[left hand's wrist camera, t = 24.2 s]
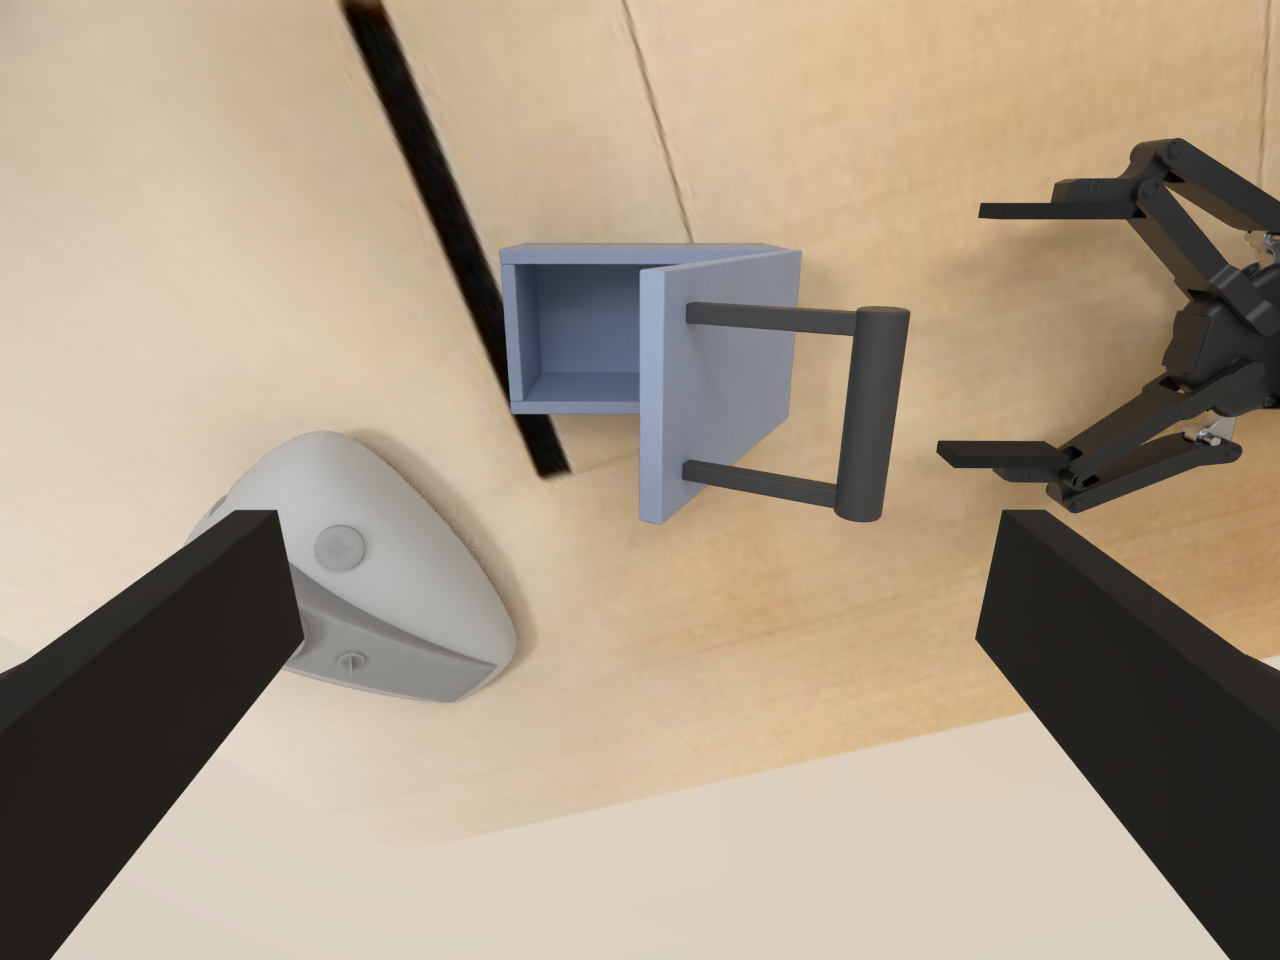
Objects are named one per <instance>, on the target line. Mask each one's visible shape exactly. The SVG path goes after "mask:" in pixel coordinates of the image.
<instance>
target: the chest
mask: <svg viewBox="0 0 1280 960" xmlns="http://www.w3.org/2000/svg"><path fill="white" fill-rule="evenodd" d="M781 250H790V249H786V248H781V247H777V246H772V245H768V244H659V243H526V244H521V245H517V246H513V247H508V248H504V249H500V263H501V264H502V265H501V275H502V289H503V304H504V318H505V332H506V346H507V360H508V374H509V388H510V400H511V413H512V414H640V270H643V269H650V268H657V267H665V266H672V265H679V264H687V263H694V262H701V261H708V260H716V259H723V258H730V257H738V256H745V255H752V254H759V253H767V252H774V251H781Z"/></svg>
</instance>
